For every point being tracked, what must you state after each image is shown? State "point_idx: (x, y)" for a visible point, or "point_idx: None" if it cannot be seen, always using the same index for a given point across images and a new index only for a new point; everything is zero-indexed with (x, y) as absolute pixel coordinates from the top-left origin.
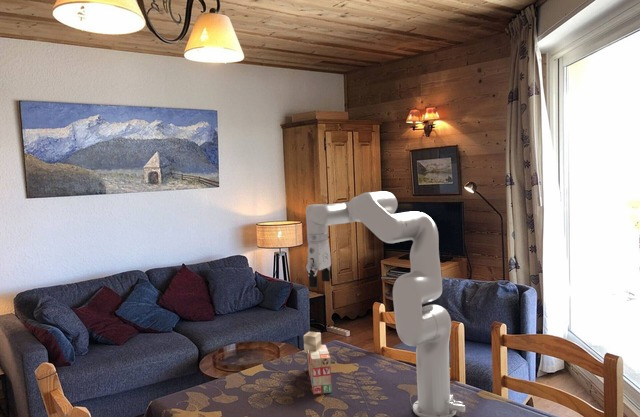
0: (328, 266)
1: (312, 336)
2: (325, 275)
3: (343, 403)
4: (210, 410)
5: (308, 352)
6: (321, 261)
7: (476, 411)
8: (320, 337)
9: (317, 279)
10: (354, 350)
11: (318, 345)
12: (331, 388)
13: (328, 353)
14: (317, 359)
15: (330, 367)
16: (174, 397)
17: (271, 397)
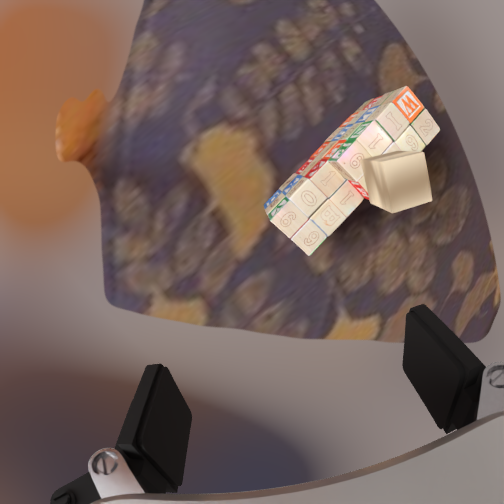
0: (196, 502)
1: (425, 164)
2: (169, 431)
3: (387, 56)
4: (492, 256)
5: (351, 211)
6: None
7: None
8: (378, 159)
9: (448, 346)
10: (116, 223)
11: (386, 154)
12: (369, 100)
13: (393, 103)
14: (429, 116)
15: (393, 91)
16: (473, 333)
17: (438, 203)
